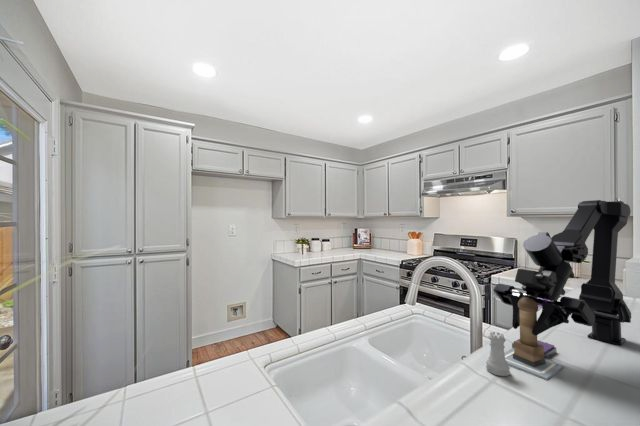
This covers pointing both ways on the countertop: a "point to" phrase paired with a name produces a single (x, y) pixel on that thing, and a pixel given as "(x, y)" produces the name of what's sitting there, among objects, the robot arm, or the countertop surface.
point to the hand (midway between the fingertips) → (523, 330)
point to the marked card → (539, 371)
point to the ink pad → (545, 349)
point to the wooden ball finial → (528, 335)
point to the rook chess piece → (497, 356)
